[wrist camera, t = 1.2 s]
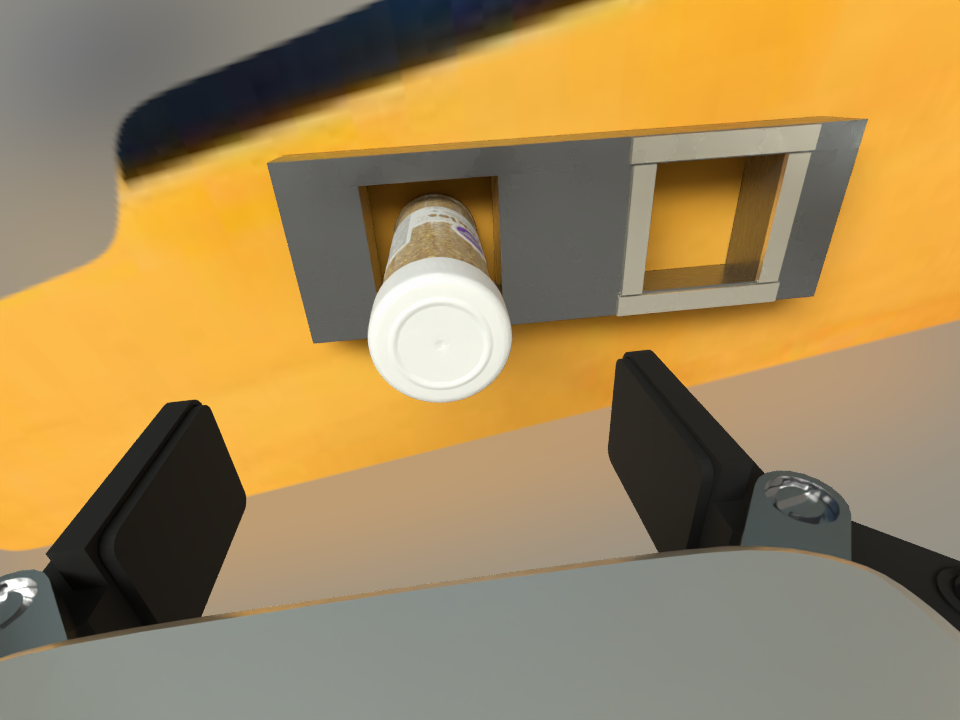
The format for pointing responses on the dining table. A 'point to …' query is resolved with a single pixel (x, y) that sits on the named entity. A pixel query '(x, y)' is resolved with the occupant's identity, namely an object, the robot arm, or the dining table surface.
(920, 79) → the dining table surface
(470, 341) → the sprinkles bottle
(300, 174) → the rail
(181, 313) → the dining table surface
